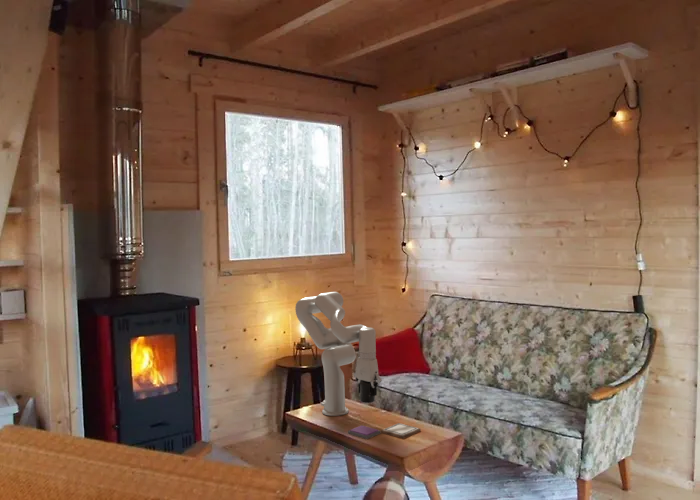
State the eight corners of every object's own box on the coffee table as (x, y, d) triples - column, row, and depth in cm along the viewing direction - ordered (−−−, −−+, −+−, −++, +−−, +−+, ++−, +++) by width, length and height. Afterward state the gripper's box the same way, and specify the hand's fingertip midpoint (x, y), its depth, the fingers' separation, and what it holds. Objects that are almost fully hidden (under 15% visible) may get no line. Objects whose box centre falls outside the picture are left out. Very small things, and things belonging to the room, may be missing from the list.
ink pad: (347, 433, 270) (347, 429, 270) (361, 428, 276) (361, 424, 276) (366, 439, 262) (366, 435, 262) (380, 433, 269) (380, 429, 269)
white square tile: (381, 432, 270) (381, 429, 270) (398, 425, 279) (398, 422, 279) (403, 438, 262) (402, 435, 262) (420, 430, 270) (420, 428, 270)
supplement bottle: (373, 403, 279) (373, 377, 278) (358, 402, 280) (358, 376, 279) (376, 398, 286) (376, 373, 285) (361, 398, 287) (361, 372, 286)
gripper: (347, 353, 284) (348, 391, 286) (376, 360, 273) (376, 400, 274) (358, 350, 290) (359, 388, 291) (387, 356, 278) (387, 396, 279)
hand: (367, 393), depth 283 cm, fingers closed on supplement bottle, 6 cm apart
